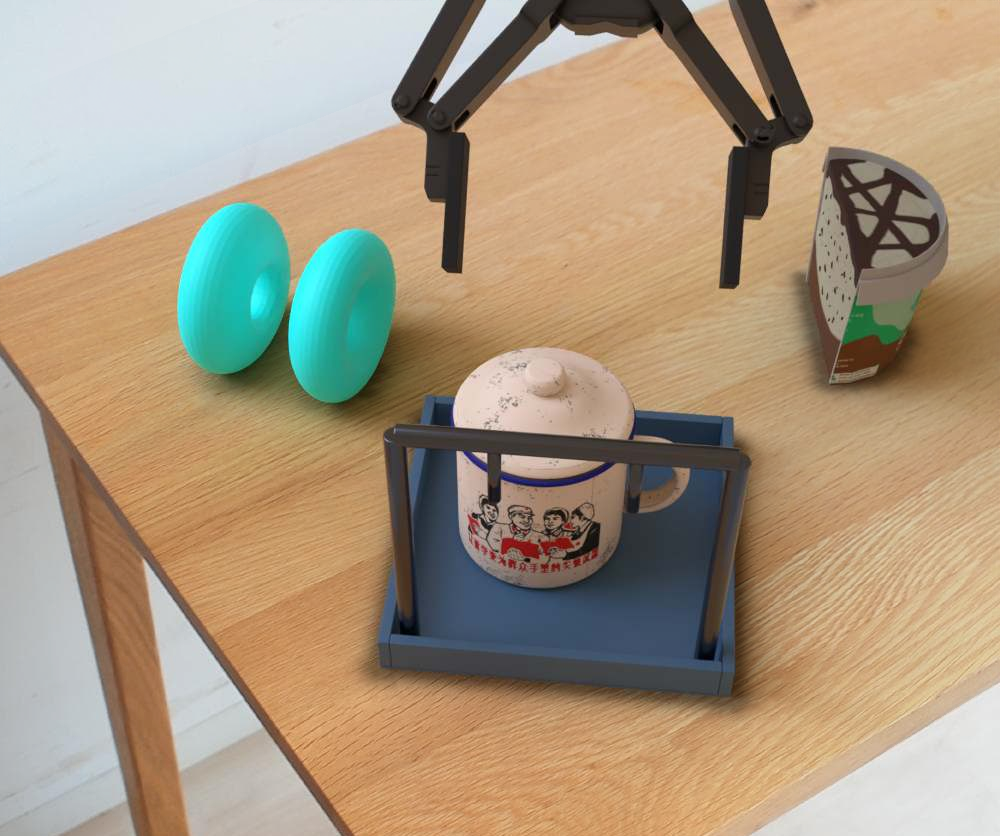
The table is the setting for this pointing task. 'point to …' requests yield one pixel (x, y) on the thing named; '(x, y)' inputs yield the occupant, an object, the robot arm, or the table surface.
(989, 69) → the table surface
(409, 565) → the rack frame
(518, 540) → the teacup with lid
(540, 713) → the table surface
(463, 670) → the drip tray
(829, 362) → the food container
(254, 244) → the donuts
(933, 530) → the table surface
